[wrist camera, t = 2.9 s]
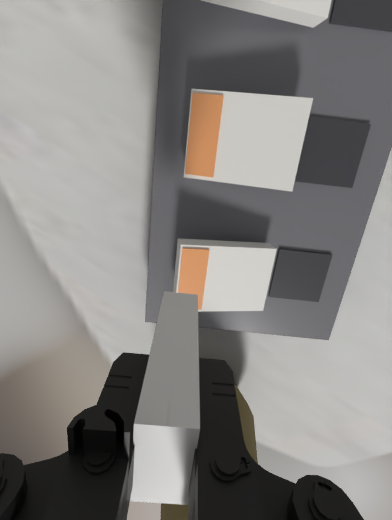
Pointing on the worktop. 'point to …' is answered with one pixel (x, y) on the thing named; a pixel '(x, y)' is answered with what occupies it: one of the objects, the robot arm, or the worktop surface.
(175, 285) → the rocker
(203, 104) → the middle rocker
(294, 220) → the power strip
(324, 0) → the rocker
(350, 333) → the worktop surface
